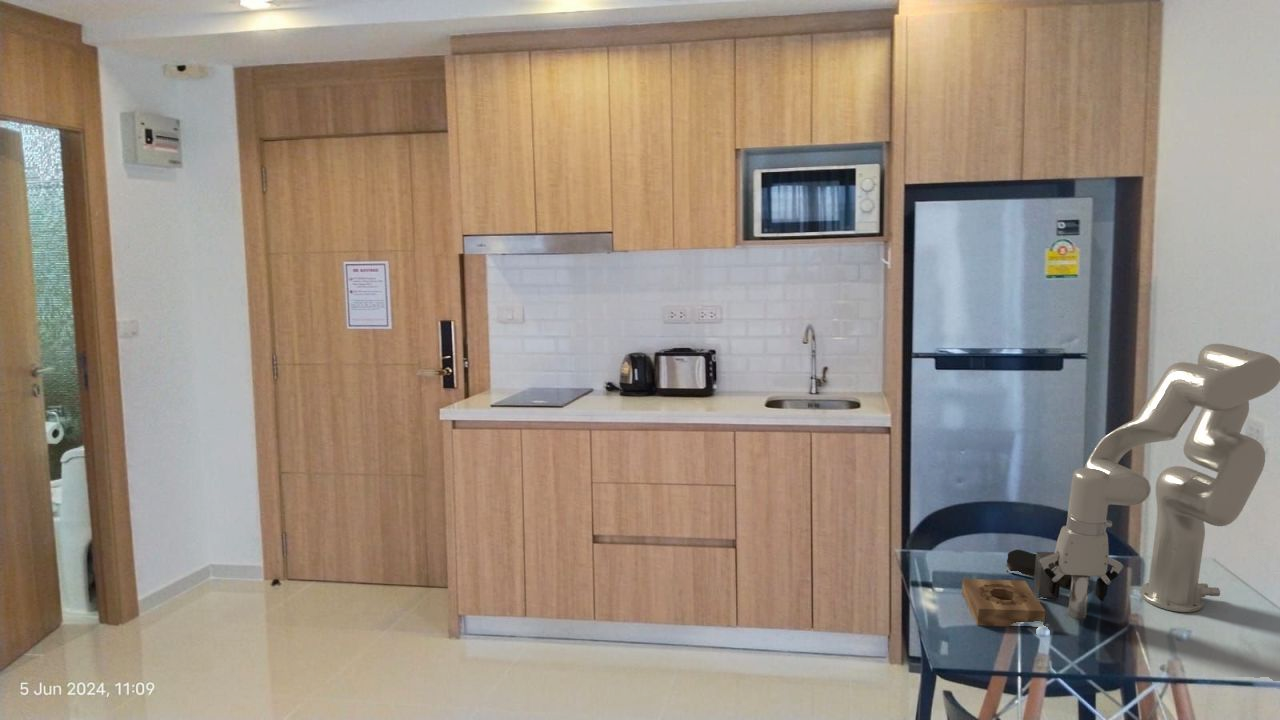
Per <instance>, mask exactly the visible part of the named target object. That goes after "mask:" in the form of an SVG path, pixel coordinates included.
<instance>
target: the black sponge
mask: <svg viewBox="0 0 1280 720" xmlns="http://www.w3.org/2000/svg"><path fill="white" fill-rule="evenodd" d="M1035 562H1036V553H1033V552H1029V551H1025V550H1022V549H1014V550H1011V551H1009V552H1008V553H1007V559H1006V566H1005V569H1006V568H1007V569H1008V570H1010V571H1019V572H1021V573H1022V574H1025V575H1029V576H1032V577H1033V578H1034V572H1035ZM1071 578H1072V575H1066V574H1065V575H1064V576H1062V577H1061V578H1060V579H1059V580H1058V581H1059V582H1060V588H1067V589H1070V588H1071Z"/></svg>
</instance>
